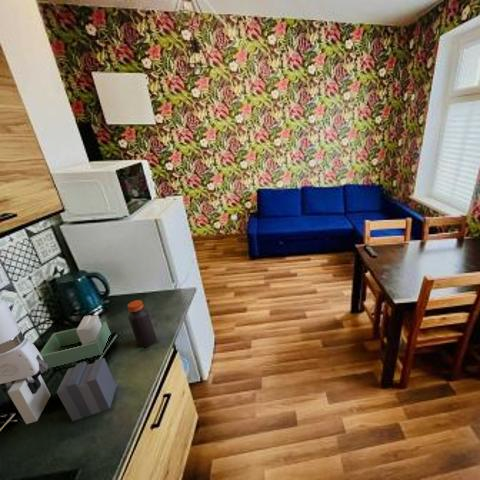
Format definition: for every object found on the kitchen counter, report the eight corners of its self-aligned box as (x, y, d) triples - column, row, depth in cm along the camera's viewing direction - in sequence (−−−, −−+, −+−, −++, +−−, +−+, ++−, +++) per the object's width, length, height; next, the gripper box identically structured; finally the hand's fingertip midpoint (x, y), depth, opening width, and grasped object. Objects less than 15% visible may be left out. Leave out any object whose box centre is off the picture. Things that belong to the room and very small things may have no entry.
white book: (26, 424, 77) (7, 392, 72) (41, 397, 84) (24, 367, 80) (37, 420, 78) (19, 389, 73) (50, 395, 85) (35, 364, 80)
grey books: (72, 421, 82) (54, 389, 77) (82, 396, 90) (67, 366, 84) (109, 409, 86) (95, 377, 80) (116, 386, 93) (103, 356, 88)
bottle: (143, 337, 115) (130, 299, 108) (159, 336, 116) (148, 298, 108) (134, 349, 109) (120, 309, 101) (152, 348, 110) (139, 308, 102)
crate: (45, 373, 99) (36, 357, 96) (60, 347, 110) (53, 333, 107) (102, 357, 105) (96, 342, 102) (111, 335, 117) (106, 321, 114)
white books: (87, 356, 105) (75, 330, 100) (94, 341, 113) (83, 316, 108) (101, 352, 107) (90, 327, 102) (107, 338, 114) (97, 313, 109)
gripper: (-52, 362, 65) (-17, 413, 72) (35, 343, 71) (59, 392, 78) (-30, 342, 71) (-1, 390, 78) (48, 326, 78) (69, 372, 85)
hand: (29, 391), depth 78 cm, fingers closed on white book, 2 cm apart
